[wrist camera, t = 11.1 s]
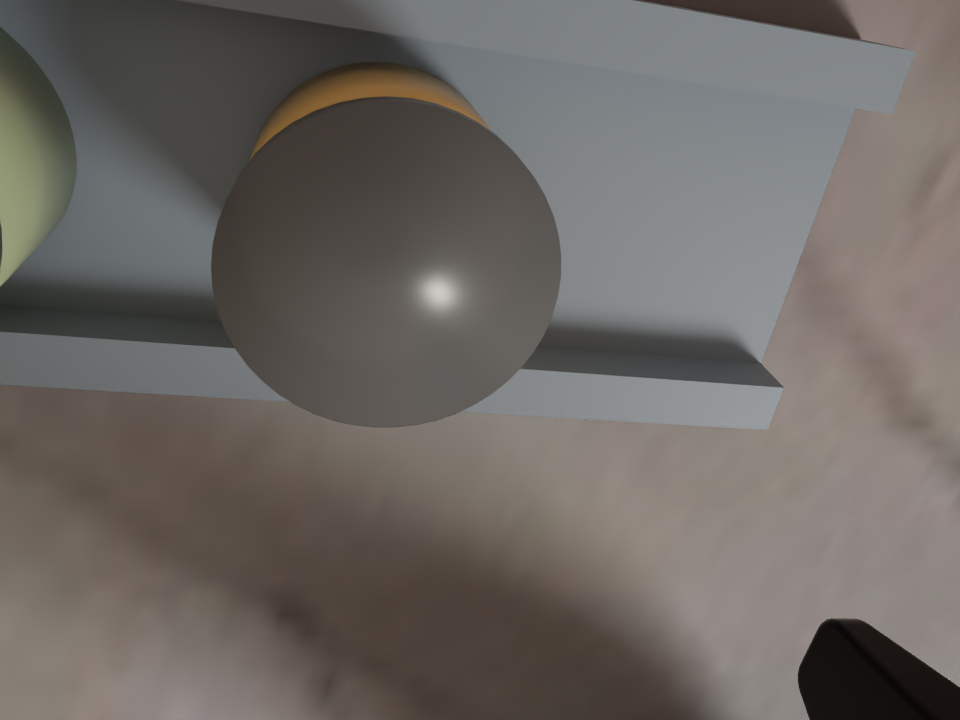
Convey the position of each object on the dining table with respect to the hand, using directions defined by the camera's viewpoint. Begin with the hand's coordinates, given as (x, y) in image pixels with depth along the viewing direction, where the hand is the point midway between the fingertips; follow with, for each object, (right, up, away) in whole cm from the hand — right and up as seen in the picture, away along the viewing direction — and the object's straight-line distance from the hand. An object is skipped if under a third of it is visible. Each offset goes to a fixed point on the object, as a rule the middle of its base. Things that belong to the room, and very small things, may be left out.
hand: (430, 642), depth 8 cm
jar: (-2, +6, +8) cm, 10 cm away
